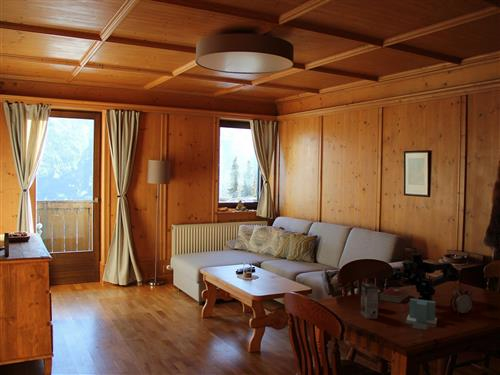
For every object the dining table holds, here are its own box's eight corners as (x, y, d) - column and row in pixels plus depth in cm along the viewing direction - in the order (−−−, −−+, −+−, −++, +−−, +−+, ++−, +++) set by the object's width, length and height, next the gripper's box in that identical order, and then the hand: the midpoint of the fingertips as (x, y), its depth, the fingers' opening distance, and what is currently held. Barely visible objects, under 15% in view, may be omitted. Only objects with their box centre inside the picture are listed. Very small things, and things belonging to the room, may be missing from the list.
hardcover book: (379, 300, 273) (379, 293, 273) (389, 293, 290) (389, 286, 290) (399, 304, 266) (399, 296, 266) (409, 296, 284) (409, 289, 284)
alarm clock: (455, 315, 245) (456, 287, 245) (449, 312, 250) (450, 284, 249) (473, 314, 248) (473, 286, 248) (466, 311, 253) (467, 283, 252)
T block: (409, 315, 242) (410, 298, 242) (434, 319, 237) (435, 301, 237) (408, 320, 234) (408, 302, 234) (434, 324, 229) (434, 306, 229)
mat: (408, 315, 244) (408, 314, 244) (437, 318, 239) (437, 318, 239) (404, 326, 225) (404, 326, 225) (435, 331, 220) (435, 330, 220)
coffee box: (359, 313, 246) (360, 282, 246) (371, 313, 247) (372, 282, 246) (365, 318, 237) (366, 287, 237) (378, 318, 238) (378, 287, 237)
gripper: (400, 255, 267) (381, 263, 258) (428, 261, 251) (409, 269, 243) (402, 274, 268) (383, 282, 260) (430, 281, 252) (411, 290, 244)
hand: (396, 280), depth 252 cm, fingers open, 9 cm apart
